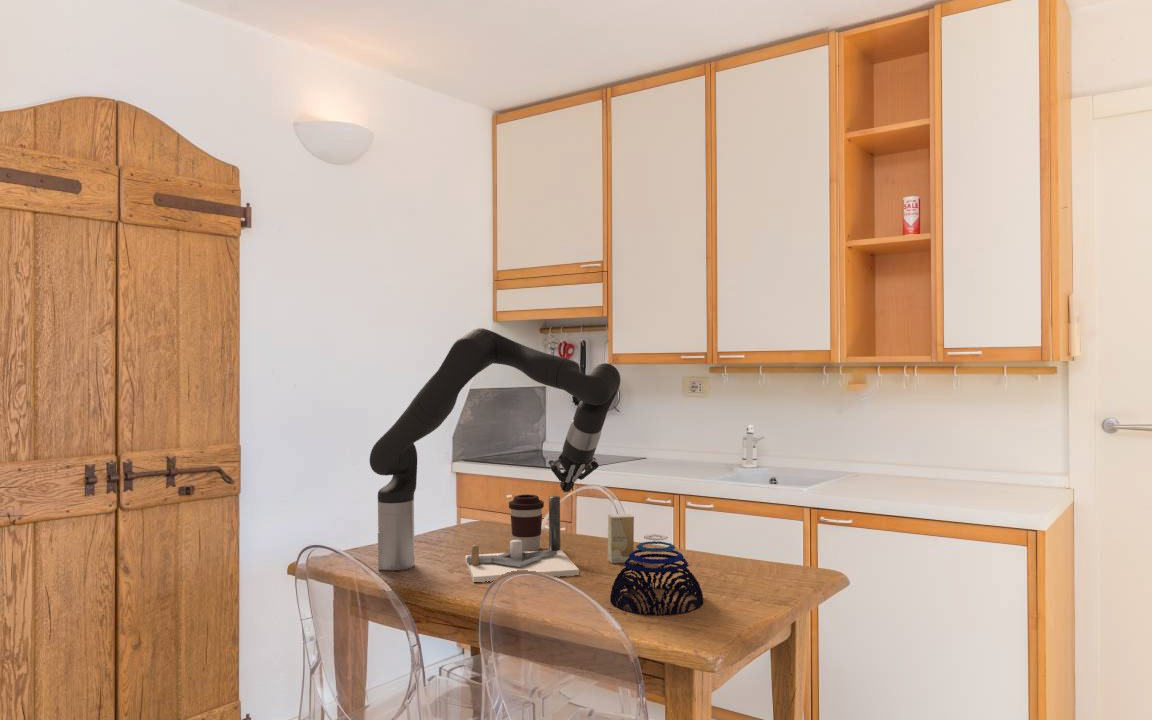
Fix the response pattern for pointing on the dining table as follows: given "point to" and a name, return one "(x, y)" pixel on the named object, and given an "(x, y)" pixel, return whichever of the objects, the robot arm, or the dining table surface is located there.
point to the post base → (549, 565)
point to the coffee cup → (526, 520)
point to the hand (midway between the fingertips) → (565, 489)
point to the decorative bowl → (644, 585)
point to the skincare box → (620, 537)
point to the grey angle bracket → (534, 556)
